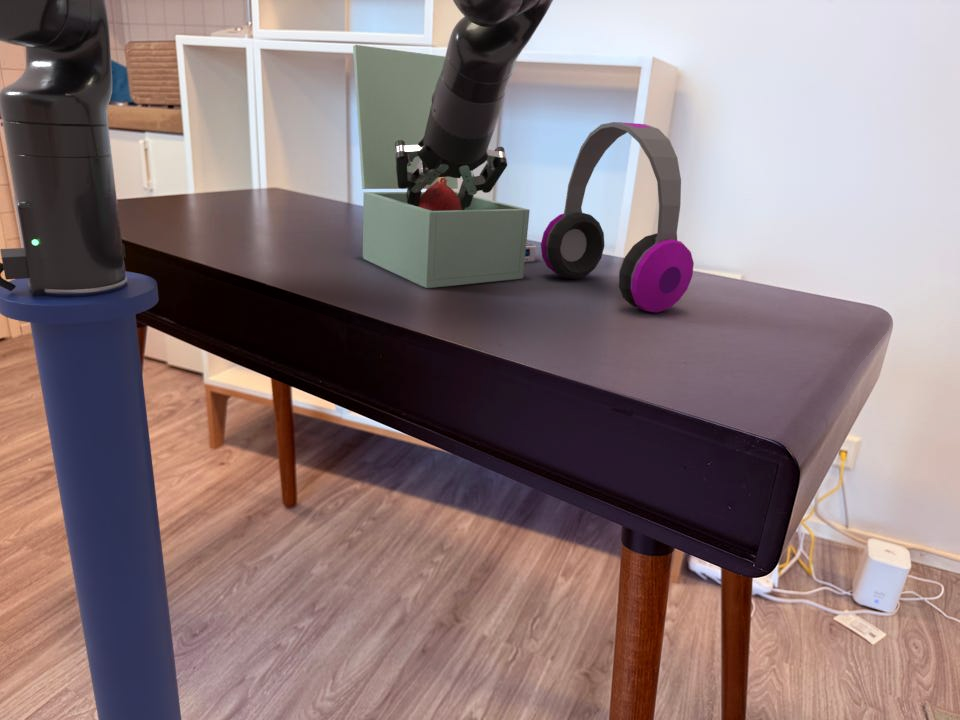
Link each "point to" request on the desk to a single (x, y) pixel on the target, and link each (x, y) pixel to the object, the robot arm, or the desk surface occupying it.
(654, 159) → the headphones
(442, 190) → the red fruit
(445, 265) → the box body
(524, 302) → the desk surface
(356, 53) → the lid
